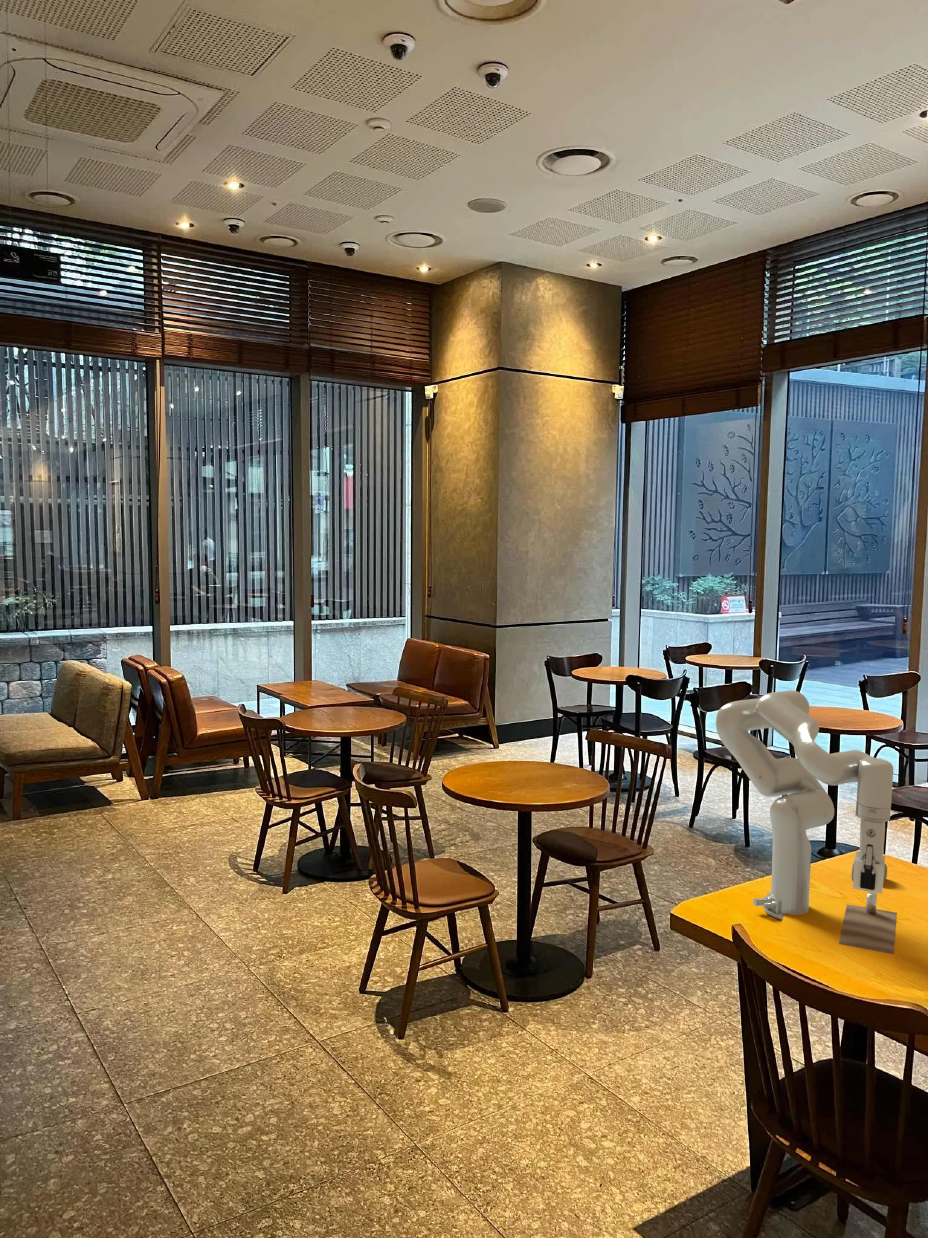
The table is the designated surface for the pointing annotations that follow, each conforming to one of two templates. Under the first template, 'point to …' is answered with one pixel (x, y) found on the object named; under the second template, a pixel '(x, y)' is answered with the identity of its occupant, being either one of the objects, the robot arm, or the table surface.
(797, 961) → the table surface
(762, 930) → the table surface
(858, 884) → the cream housing
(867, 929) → the walnut board
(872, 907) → the metal stub
